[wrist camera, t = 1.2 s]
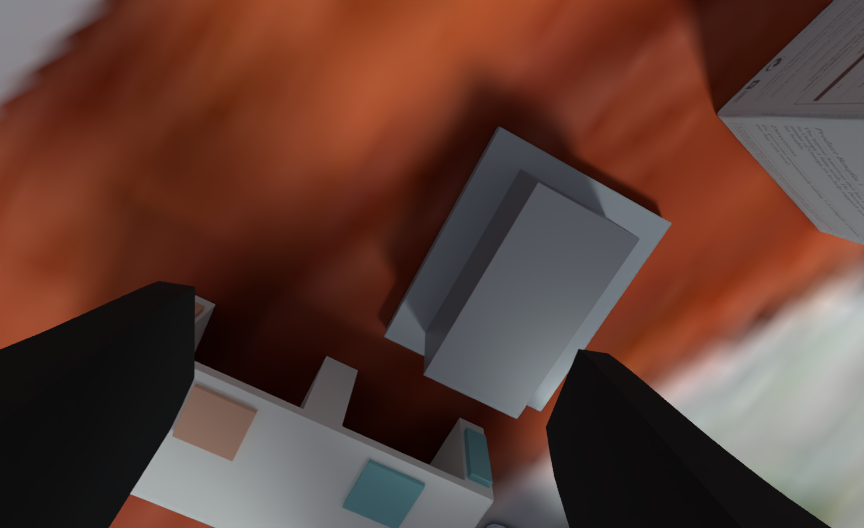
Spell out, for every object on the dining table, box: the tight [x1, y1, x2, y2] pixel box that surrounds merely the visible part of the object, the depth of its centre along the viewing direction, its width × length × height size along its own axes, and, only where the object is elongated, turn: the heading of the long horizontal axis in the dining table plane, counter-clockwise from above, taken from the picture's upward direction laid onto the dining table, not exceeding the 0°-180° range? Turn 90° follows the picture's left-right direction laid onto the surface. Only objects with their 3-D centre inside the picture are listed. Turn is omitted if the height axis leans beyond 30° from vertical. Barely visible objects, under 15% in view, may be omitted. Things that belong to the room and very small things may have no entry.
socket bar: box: [130, 295, 494, 528], centre depth 21 cm, size 15×7×5 cm, turn 62°
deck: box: [384, 126, 672, 412], centre depth 21 cm, size 8×10×1 cm
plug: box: [423, 169, 640, 419], centre depth 19 cm, size 4×8×4 cm, turn 152°
